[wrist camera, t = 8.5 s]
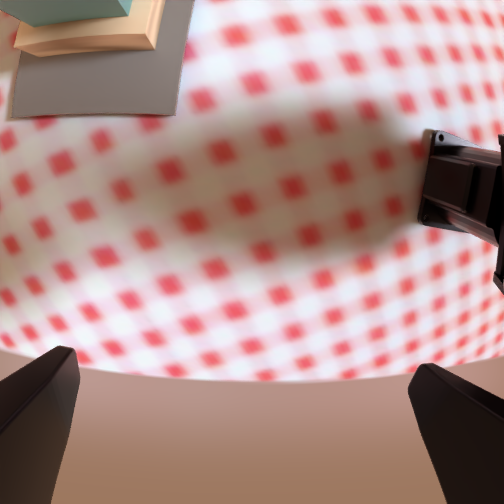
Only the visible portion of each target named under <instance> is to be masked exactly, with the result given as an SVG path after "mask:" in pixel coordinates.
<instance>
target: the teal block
mask: <svg viewBox="0 0 504 504" xmlns="http://www.w3.org/2000/svg"><path fill="white" fill-rule="evenodd" d="M131 4H132V0H0V10H2V11H4V12H6V13H8V14H9V15H11V16H13V17H15V18H17V19H19V20H21V21H23V22H25V23H27V24H28V25H30V26H32V27H39V26H45V25H50V24H56V23H62V22H69V21H77V20H85V19H95V18H107V17H122V16H129V12H130V8H131Z"/></svg>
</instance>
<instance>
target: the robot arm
mask: <svg viewBox="0 0 504 504" xmlns="http://www.w3.org/2000/svg"><path fill="white" fill-rule="evenodd" d="M439 135H440V141H439ZM498 139H499V145H500V146H501V152H498V151H492V150H487V149H484V148H482V147H480V146H478V145H475V144H473V143H471V142H469V141H466V140H464V139H462V138H459V137H457V136H454V135H452V134H449V133H447V132H444V131H440V130H436V131H434V133H433V135H432V142H431V149H430V155H429V161H428V167H427V173H426V179H425V184H424V189H423V194H422V199H421V204H420V208H419V213H418V221H419V223H421V224H423V225H425V226H431V227H437V228H443V229H448V230H454V231H459V232H465V233H470V234H472V235H474V236H476V237H478V238H480V239H482V240H484V241H486V242H488V243H490V244H492V245H494V246H496V247H498V256H497V264H496V271H495V272H494V276H493V282H494V283H495V284H496V286H497V287H498V288H499V289H500V291H501V292H502V293H503V295H504V134H499V135H498ZM425 215H426V218H425V220H424V216H425ZM79 384H80V373H79V367H78V361H77V356H76V352H75V350H74V349H73V348H70V347H65V346H57V347H55V348H53V349H52V350H50V351H48V352H47V353H45V354H43V355H42V356H40V357H38V358H37V359H35V360H33V361H32V362H30V363H29V364H27V365H26V366H24V367H22V368H20V369H19V370H17V371H16V372H14V373H12V374H11V375H9V376H8V377H6V378H4V379H3V380H1V381H0V504H51V500H52V496H53V491H54V488H55V484H56V480H57V476H58V473H59V469H60V465H61V462H62V458H63V455H64V451H65V448H66V445H67V441H68V437H69V433H70V428H71V423H72V417H73V413H74V407H75V402H76V398H77V393H78V389H79ZM408 395H409V398H410V401H411V404H412V407H413V410H414V413H415V417H416V420H417V423H418V427H419V430H420V433H421V436H422V438H423V441H424V444H425V446H426V449H427V451H428V454H429V456H430V459H431V461H432V464H433V467H434V469H435V471H436V474H437V477H438V480H439V483H440V485H441V488H442V491H443V493H444V496H445V499H446V502H447V504H504V399H501V398H500V397H498V396H496V395H494V394H492V393H490V392H488V391H486V390H484V389H482V388H480V387H478V386H476V385H474V384H472V383H471V382H469V381H466V380H464V379H463V378H461V377H459V376H457V375H455V374H453V373H451V372H449V371H447V370H445V369H443V368H442V367H440V366H438V365H436V364H434V363H425V364H421V365H420V366H419V367H418V368H417V370H416V372H415V374H414V376H413V378H412V380H411V382H410V384H409V386H408Z"/></svg>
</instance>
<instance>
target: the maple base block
mask: <svg viewBox="0 0 504 504" xmlns="http://www.w3.org/2000/svg"><path fill="white" fill-rule="evenodd" d="M165 1H166V0H132V4H131V8H130V12H129V16H122V17H107V18H95V19H85V20H77V21H69V22H62V23H56V24H50V25H45V26H39V27H32V26H30V25H28V24H27V23H25V22H23V21H21V20H20V24H19V27H18V31H17V35H16V39H15V44H14V48H17V49H20V50H22V51H25V52H28V53H30V54H33V55H35V56H38V57H45V56H52V55H60V54H70V53H80V52H94V51H113V50H155V49H156V43H157V38H158V33H159V28H160V23H161V19H162V14H163V9H164V5H165Z"/></svg>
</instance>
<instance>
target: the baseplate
mask: <svg viewBox="0 0 504 504" xmlns="http://www.w3.org/2000/svg"><path fill="white" fill-rule="evenodd" d="M194 2H195V0H166V1H165V5H164V9H163V14H162V19H161V23H160V28H159V33H158V38H157V43H156V49H155V50H113V51H94V52H80V53H70V54H60V55H52V56H45V57H38V56H35V55H33V54H30V53H28V52H25V51H21V56H20V61H19V67H18V72H17V78H16V85H15V92H14V99H13V108H12V117H11V118H19V117H30V116H44V115H61V114H94V113H121V114H155V115H173V116H175V115H176V107H177V100H178V93H179V86H180V79H181V72H182V66H183V60H184V54H185V48H186V42H187V37H188V32H189V26H190V21H191V16H192V11H193V6H194Z"/></svg>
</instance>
